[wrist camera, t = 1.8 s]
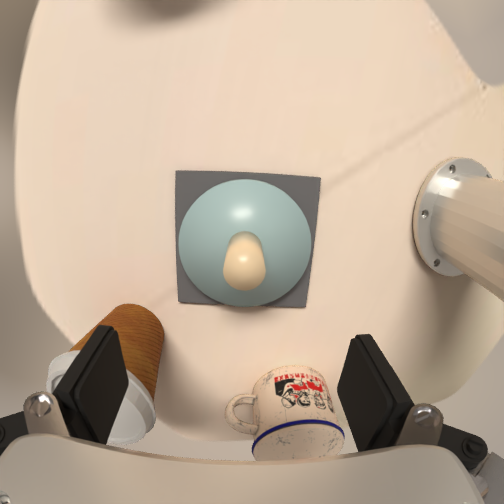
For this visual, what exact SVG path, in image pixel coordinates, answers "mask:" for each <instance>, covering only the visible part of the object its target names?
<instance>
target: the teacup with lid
mask: <svg viewBox="0 0 504 504" xmlns="http://www.w3.org/2000/svg"><path fill="white" fill-rule="evenodd" d="M239 404H251V405H253V424H248V423H245V422H242V421H241V420H239V419H238V418H237V417H236V416H235V414H234V407H235V406H237V405H239ZM225 418H226V421H227V423H228V424H229V425H230V426H231V427H232V428H234V429H235V430H237V431H239V432H242V433H246V434H252V435H254V443H253V445H252V453H253V455H254V458H255V460H256V461H275V460H294V459H307V458H318V457H327V456H334V455H337V454H338V453H339V452H340V451H341V449H342V447H343V444H344V432H343V430H342V429H341V428H340V427H339V424H338V421H337V417H336V414H335V411H334V407H333V404H332V401H331V398H330V394H329V391H328V388H327V385H326V382H325V379H324V378H323V376H322V375H321V374H320V373H319V372H317V371H316V370H314V369H312V368H309V367H305V366H285V367H281V368H277V369H275V370H272V371H270V372H268V373H267V374H265V375H264V376H263V377H261V378H260V379H259V380H258V382H257V383H256V385H255V387H254V389H253V395H249V394H242V395H238V396H236V397H234V398H233V399H232V400H231V401H230V402H229V403H228V405H227V407H226V410H225Z"/></svg>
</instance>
